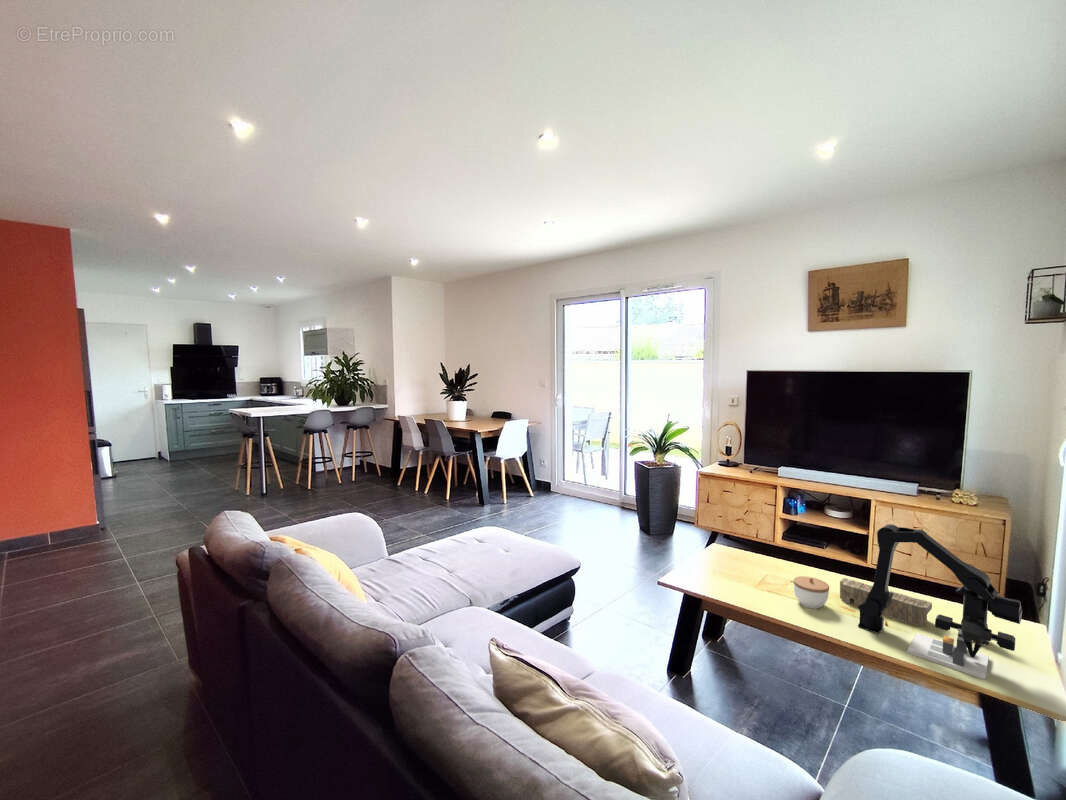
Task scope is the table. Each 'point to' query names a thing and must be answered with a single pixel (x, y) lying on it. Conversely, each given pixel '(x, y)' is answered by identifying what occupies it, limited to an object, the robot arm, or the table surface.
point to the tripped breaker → (948, 645)
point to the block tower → (899, 609)
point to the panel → (957, 660)
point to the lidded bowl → (811, 591)
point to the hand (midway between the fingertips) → (972, 656)
